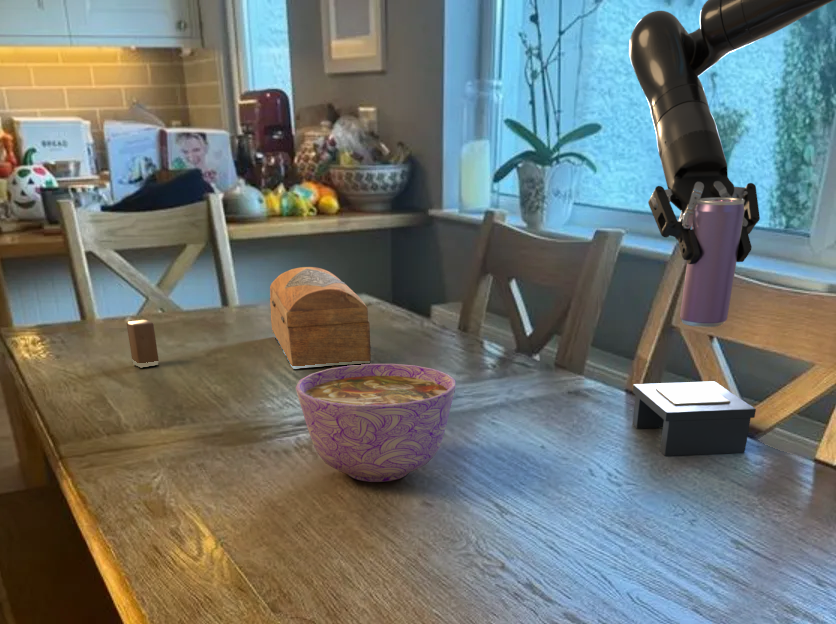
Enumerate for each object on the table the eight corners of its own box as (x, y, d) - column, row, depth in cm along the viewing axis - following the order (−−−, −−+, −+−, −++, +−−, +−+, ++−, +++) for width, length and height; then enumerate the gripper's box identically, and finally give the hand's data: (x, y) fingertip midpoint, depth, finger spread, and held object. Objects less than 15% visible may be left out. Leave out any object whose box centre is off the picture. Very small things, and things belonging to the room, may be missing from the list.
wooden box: (376, 364, 167) (374, 286, 161) (288, 370, 165) (282, 291, 158) (349, 331, 193) (346, 263, 187) (271, 336, 190) (266, 267, 184)
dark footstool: (708, 421, 134) (714, 379, 131) (748, 452, 121) (756, 407, 118) (628, 424, 133) (633, 382, 130) (660, 456, 121) (666, 411, 118)
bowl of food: (300, 449, 126) (295, 366, 120) (442, 442, 127) (443, 360, 122) (302, 503, 108) (295, 409, 103) (466, 495, 110) (469, 401, 104)
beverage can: (719, 329, 116) (739, 202, 108) (673, 325, 118) (689, 200, 111) (731, 321, 120) (751, 198, 113) (686, 316, 123) (703, 196, 116)
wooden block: (139, 369, 168) (133, 325, 164) (132, 365, 171) (125, 321, 167) (160, 366, 170) (154, 322, 166) (152, 362, 173) (146, 319, 169)
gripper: (648, 129, 114) (677, 241, 109) (755, 126, 116) (787, 237, 111) (627, 173, 121) (653, 280, 116) (728, 169, 123) (757, 275, 118)
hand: (718, 258), depth 114 cm, fingers closed on beverage can, 6 cm apart
